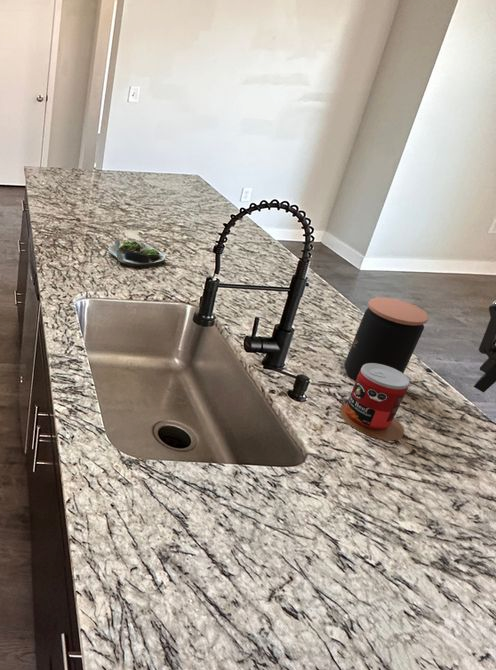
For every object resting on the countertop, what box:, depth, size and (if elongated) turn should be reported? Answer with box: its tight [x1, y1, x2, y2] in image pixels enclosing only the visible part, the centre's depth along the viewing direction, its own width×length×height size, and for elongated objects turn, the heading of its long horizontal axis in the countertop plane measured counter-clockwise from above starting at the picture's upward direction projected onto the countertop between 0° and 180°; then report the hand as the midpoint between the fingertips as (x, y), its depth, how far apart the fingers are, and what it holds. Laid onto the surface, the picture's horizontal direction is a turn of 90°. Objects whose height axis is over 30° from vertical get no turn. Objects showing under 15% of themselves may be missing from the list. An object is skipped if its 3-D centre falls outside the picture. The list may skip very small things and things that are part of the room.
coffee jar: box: [344, 296, 430, 382], centre depth 119 cm, size 11×11×18 cm
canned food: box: [345, 363, 411, 430], centre depth 107 cm, size 8×8×11 cm
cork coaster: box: [339, 403, 405, 441], centre depth 109 cm, size 11×11×1 cm
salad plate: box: [108, 239, 166, 269], centre depth 179 cm, size 19×18×5 cm
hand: (482, 384), depth 89 cm, fingers closed
